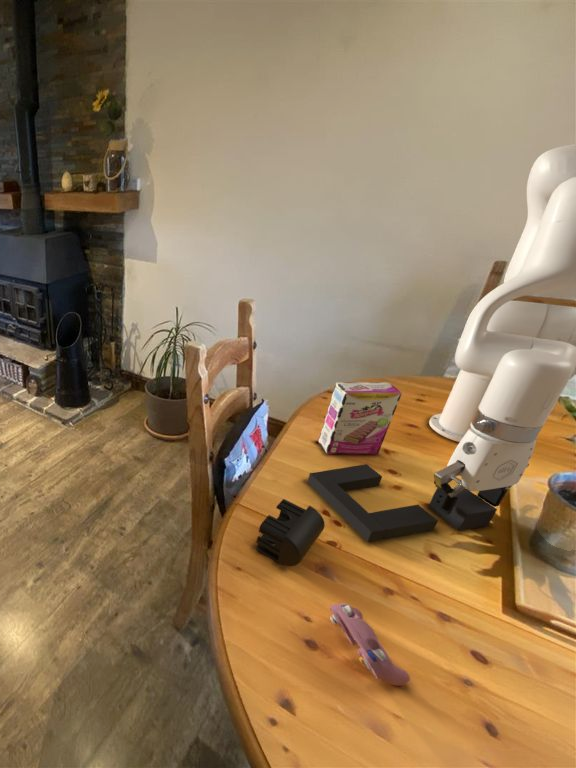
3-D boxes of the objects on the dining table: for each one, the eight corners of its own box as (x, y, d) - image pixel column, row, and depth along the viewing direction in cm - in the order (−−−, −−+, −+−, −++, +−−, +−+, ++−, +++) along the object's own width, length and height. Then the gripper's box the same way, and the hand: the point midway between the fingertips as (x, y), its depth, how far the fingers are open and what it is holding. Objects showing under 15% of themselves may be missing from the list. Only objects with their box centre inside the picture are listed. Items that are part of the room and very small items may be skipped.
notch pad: (363, 473, 88) (366, 463, 87) (433, 530, 74) (438, 520, 73) (307, 482, 87) (309, 473, 86) (367, 542, 73) (371, 532, 72)
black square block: (455, 502, 80) (463, 486, 78) (488, 525, 74) (497, 509, 73) (427, 507, 79) (435, 491, 77) (458, 531, 74) (467, 514, 72)
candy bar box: (327, 455, 94) (345, 392, 86) (317, 442, 98) (334, 381, 91) (380, 456, 93) (403, 392, 85) (368, 442, 97) (389, 381, 90)
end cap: (295, 576, 68) (303, 547, 65) (253, 550, 73) (259, 523, 70) (319, 542, 74) (329, 514, 70) (279, 520, 78) (286, 493, 75)
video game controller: (330, 624, 62) (319, 600, 59) (359, 612, 62) (350, 587, 58) (379, 698, 54) (370, 675, 50) (415, 685, 53) (407, 661, 50)
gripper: (482, 445, 63) (441, 527, 71) (578, 431, 65) (528, 513, 73) (435, 419, 69) (402, 497, 77) (524, 407, 71) (483, 484, 79)
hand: (463, 505), depth 75 cm, fingers open, 9 cm apart
